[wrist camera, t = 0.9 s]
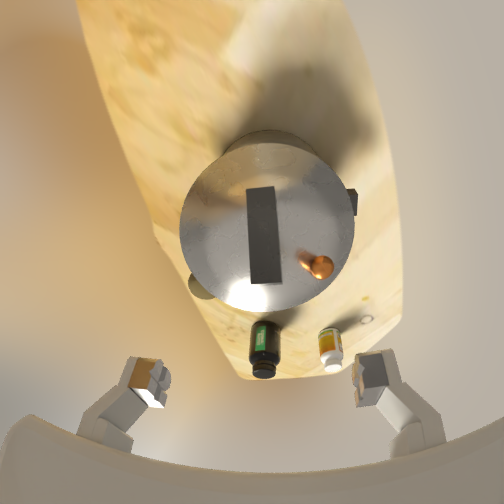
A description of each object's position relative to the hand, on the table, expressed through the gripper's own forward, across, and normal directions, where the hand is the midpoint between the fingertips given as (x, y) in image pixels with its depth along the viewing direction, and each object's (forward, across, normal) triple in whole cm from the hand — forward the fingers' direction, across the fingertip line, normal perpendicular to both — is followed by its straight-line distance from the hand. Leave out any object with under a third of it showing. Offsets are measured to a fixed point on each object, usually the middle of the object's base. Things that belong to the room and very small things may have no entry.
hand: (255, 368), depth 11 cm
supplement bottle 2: (+36, -10, +45) cm, 58 cm away
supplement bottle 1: (+36, +6, +41) cm, 55 cm away
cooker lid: (+17, 0, +3) cm, 17 cm away
